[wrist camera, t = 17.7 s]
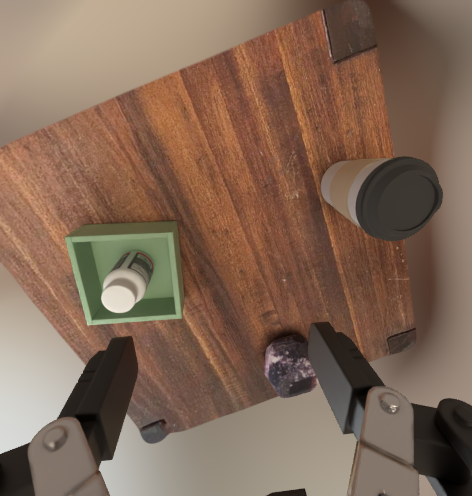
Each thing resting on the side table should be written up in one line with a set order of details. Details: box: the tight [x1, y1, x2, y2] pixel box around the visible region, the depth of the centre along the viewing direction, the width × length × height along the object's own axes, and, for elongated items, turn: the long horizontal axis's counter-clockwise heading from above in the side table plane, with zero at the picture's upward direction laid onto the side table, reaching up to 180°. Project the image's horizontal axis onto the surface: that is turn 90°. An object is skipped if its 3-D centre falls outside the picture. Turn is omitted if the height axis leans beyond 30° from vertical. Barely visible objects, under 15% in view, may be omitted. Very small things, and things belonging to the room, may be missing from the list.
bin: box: [65, 221, 185, 325], centre depth 40 cm, size 14×14×6 cm
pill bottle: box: [101, 251, 154, 313], centre depth 37 cm, size 5×5×10 cm
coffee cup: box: [321, 157, 443, 241], centre depth 34 cm, size 9×9×15 cm
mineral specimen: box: [264, 334, 318, 398], centre depth 47 cm, size 10×10×10 cm
